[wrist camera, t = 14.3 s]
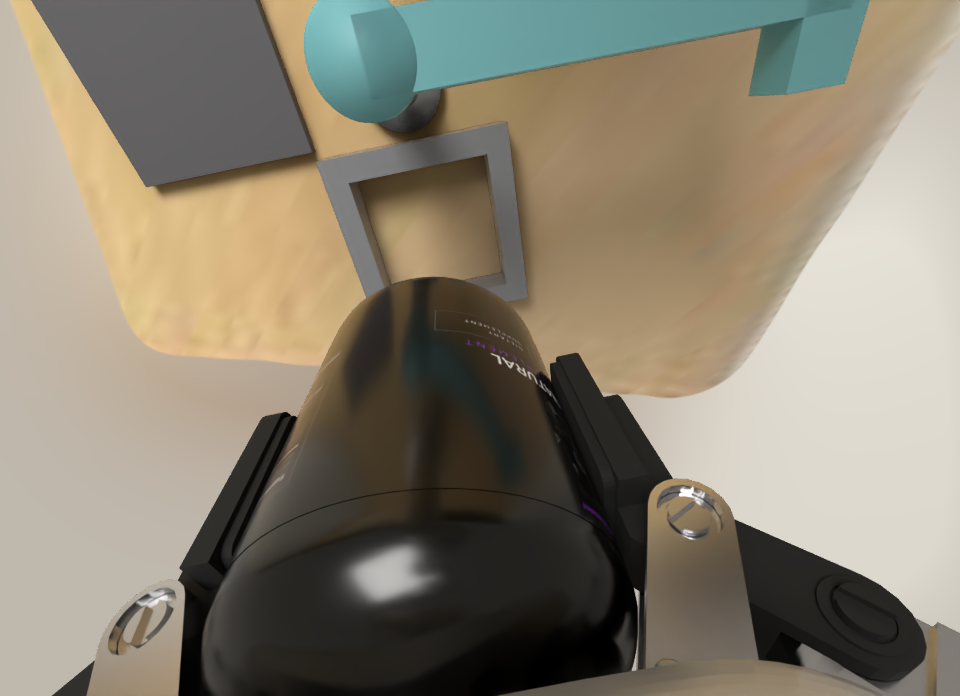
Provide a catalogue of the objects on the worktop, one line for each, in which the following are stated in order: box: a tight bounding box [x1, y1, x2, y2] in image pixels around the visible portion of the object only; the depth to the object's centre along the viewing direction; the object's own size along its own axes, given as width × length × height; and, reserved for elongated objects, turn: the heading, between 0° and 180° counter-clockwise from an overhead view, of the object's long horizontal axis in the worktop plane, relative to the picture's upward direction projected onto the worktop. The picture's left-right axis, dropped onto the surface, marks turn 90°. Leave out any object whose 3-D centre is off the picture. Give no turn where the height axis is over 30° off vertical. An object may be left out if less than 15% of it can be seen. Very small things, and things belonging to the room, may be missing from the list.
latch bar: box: [304, 0, 869, 123], centre depth 12 cm, size 17×6×2 cm, turn 99°
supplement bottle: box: [201, 277, 638, 696], centre depth 8 cm, size 7×7×12 cm
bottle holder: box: [316, 121, 528, 302], centre depth 28 cm, size 12×12×2 cm
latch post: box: [378, 89, 441, 132], centre depth 18 cm, size 5×5×13 cm
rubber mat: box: [31, 0, 315, 187], centre depth 22 cm, size 11×11×1 cm
